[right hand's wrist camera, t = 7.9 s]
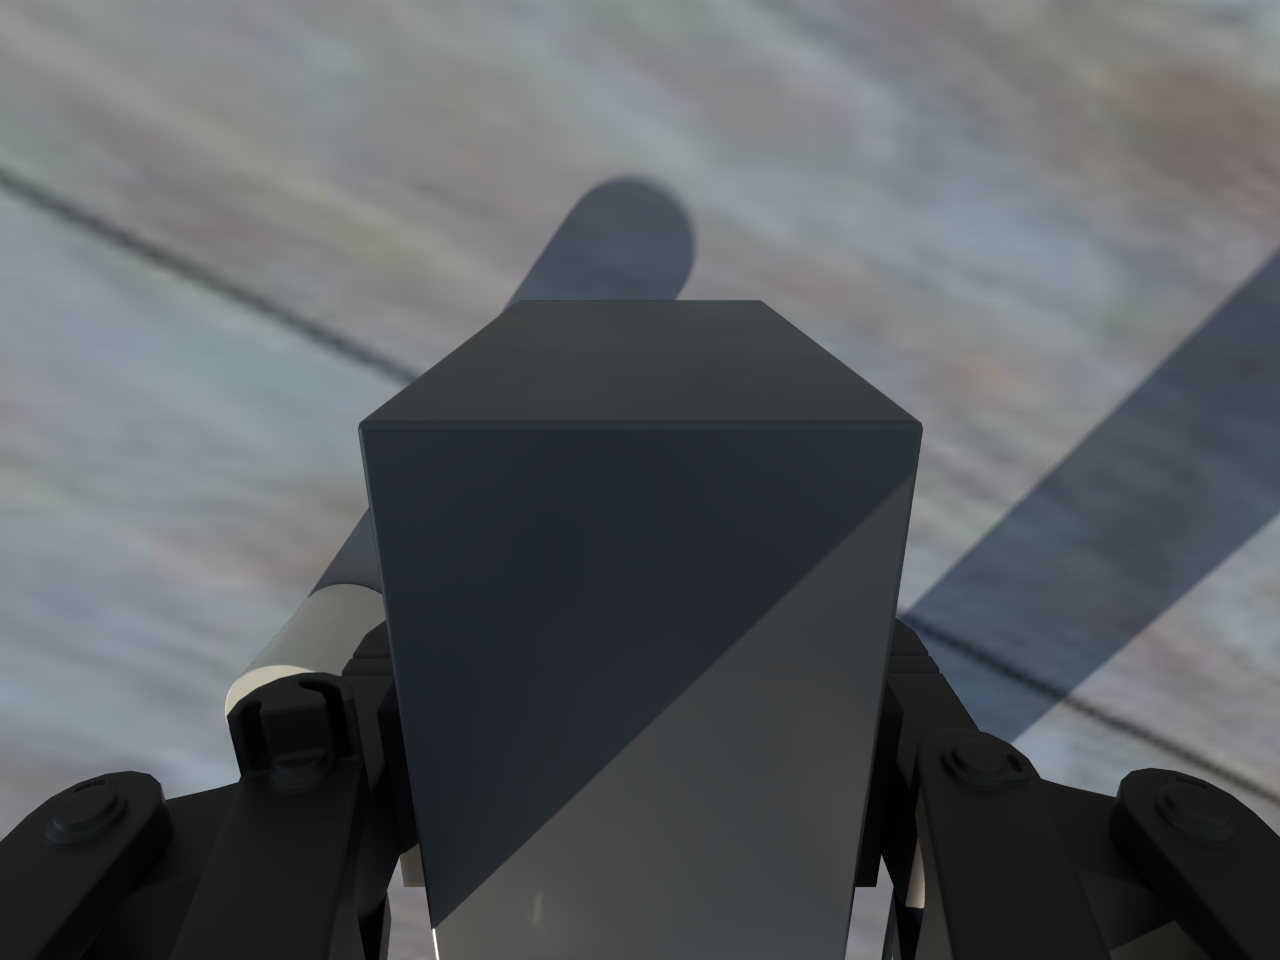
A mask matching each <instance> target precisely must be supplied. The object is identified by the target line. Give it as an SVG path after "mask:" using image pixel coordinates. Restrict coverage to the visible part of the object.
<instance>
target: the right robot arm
mask: <svg viewBox="0 0 1280 960" xmlns="http://www.w3.org/2000/svg"><path fill="white" fill-rule="evenodd" d="M226 717H227V721H228V725H229V729H230V733H231V737H232V741H233V745H234V749H235V753H236V757H237V761H238V765H239V769H240V773H241V777H240V780H239V782H237V783H234V784H230V785H227V786H224V787H220V788H216V789H212V790H208V791H203V792H199V793H195V794H190V795H186V796H182V797H177V798H173V799H168V800H165V797H164V794H163V791H162V787H161V784H160V783H159V782H158V781H157V780H156V779H155V778H154V777H152V776H151V775H150V774H146V773H140V772H135V771H125V772H117V773H109V774H104V775H101V776H98V777H95V778H92V779H89V780H86V781H83V782H80V783H77V784H75V785H74V786H72V787H70V788H68V789H66V790H64V791H62V792H60V793H58V794H57V795H55V796H53V797H51V798H49V799H48V800H47V801H46V802H44V803H43V804H42V805H41V806H39V807H38V808H37V809H35V810H34V811H33V812H32V813H30V814H29V815H28V816H27V817H26V818H25V819H24V820H22V821H21V822H20V823H19V824H18V825H17V826H16V827H15V828H14V829H13V830H12V831H11V832H10V833H9V834H8V835H7V836H6V837H5V838H4V839H3V840H2V841H1V842H0V960H387V956H388V946H389V936H390V926H391V912H390V905H389V899H388V893H387V888H388V886H389V883H390V880H391V877H392V875H393V872H394V869H395V867H396V864H397V861H398V859H399V856H400V862H401V869H402V875H403V881H404V887H425V881H424V875H423V868H422V861H421V854H420V847H419V841H418V834H417V827H416V820H415V813H414V807H413V800H412V793H411V786H410V779H409V773H408V766H407V759H406V752H405V745H404V739H403V732H402V725H401V718H400V711H399V705H398V698H397V691H396V684H395V677H394V671H393V664H392V657H391V650H390V643H389V637H388V630H387V623H386V620H385V621H383V622H382V623H380V624H379V625H378V626H376V627H375V628H374V629H372V630H371V631H370V632H368V633H367V634H366V635H365V636H364V638H363V639H362V641H361V643H360V644H359V646H358V647H357V649H356V650H355V652H354V653H353V658H352V659H349V661H348V663H347V664H346V666H345V667H344V669H343V670H342V674H341V676H337V675H334V674H330V673H326V672H305V673H299V674H295V675H290V676H286V677H281V678H278V679H276V680H274V681H271V682H269V683H267V684H264V685H262V686H260V687H257V688H256V689H254V690H253V691H252V692H250V693H249V694H247V695H246V696H244V697H243V698H242V699H240V700H239V701H238V702H237V703H236V704H235V706H234V707H233V708H232V709H231V711H230V712H229V713H228V715H227V716H226ZM881 854H882V857H883V859H884V862H885V865H886V867H887V870H888V873H889V875H890V878H891V881H892V883H893V886H894V887H893V893H892V899H891V904H890V910H889V916H888V922H887V928H886V934H885V940H884V946H883V953H882V960H891V959H892V954H893V960H1280V837H1279V836H1278V835H1277V834H1276V833H1275V832H1274V831H1273V830H1272V829H1271V828H1270V827H1269V826H1268V825H1267V824H1266V823H1265V822H1264V821H1263V820H1262V819H1261V818H1260V817H1259V816H1257V815H1256V814H1255V813H1254V812H1253V811H1252V810H1250V809H1249V808H1248V807H1247V806H1245V805H1244V804H1243V803H1241V802H1240V801H1239V800H1238V799H1236V798H1235V797H1234V796H1232V795H1231V794H1229V793H1227V792H1225V791H1223V790H1221V789H1220V788H1218V787H1216V786H1214V785H1212V784H1210V783H1208V782H1206V781H1204V780H1202V779H1199V778H1196V777H1193V776H1190V775H1187V774H1183V773H1180V772H1177V771H1172V770H1164V769H1156V768H1147V769H1142V770H1136V771H1131V772H1130V773H1129V774H1128V775H1127V776H1126V777H1125V778H1124V779H1122V780H1121V783H1120V786H1119V789H1118V793H1117V796H1116V797H1112V796H1108V795H1103V794H1099V793H1095V792H1090V791H1086V790H1081V789H1077V788H1073V787H1068V786H1064V785H1060V784H1057V783H1054V782H1050V781H1047V780H1044V779H1041V778H1040V776H1039V774H1038V773H1037V771H1036V770H1035V768H1034V767H1033V765H1032V764H1031V762H1030V760H1029V759H1028V758H1027V757H1026V756H1024V755H1023V754H1022V753H1021V752H1019V751H1018V750H1017V749H1016V748H1015V747H1013V746H1012V745H1011V744H1009V743H1007V742H1005V741H1003V740H1001V739H999V738H997V737H995V736H993V735H991V734H989V733H985V732H981V731H979V729H978V728H977V726H976V725H975V723H974V722H973V720H972V718H971V717H970V715H969V714H968V712H967V711H966V709H965V708H964V706H963V705H962V703H961V702H960V700H959V699H958V697H957V696H956V694H955V692H954V691H953V689H952V688H951V686H950V685H949V683H948V682H947V680H946V679H945V677H944V676H943V674H940V672H939V668H938V666H937V665H936V663H935V662H934V660H933V659H932V657H931V656H928V651H927V650H926V648H925V647H924V645H923V643H922V642H921V640H920V639H919V637H918V636H917V634H916V633H915V632H914V631H913V630H912V629H910V628H909V627H908V626H906V625H905V624H903V623H902V622H901V621H899V620H898V619H897V618H895V622H894V629H893V636H892V642H891V649H890V656H889V663H888V669H887V676H886V683H885V690H884V697H883V703H882V710H881V717H880V724H879V730H878V737H877V744H876V751H875V758H874V764H873V771H872V778H871V785H870V791H869V798H868V805H867V812H866V819H865V825H864V832H863V839H862V846H861V852H860V859H859V866H858V873H857V879H856V886H855V887H876V884H877V878H878V872H879V865H880V859H881Z"/></svg>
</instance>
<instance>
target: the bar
mask: <svg viewBox="0 0 1280 960" xmlns="http://www.w3.org/2000/svg"><path fill="white" fill-rule="evenodd" d="M922 432H923V427H922V424H921V422H920V421H918V420H917V419H916V418H914V417H913V416H912V415H910V414H909V413H908V412H906V411H905V410H904V409H903V408H901V407H900V406H899V405H897V404H896V403H895V402H893V401H892V400H891V399H889V398H888V397H887V396H885V395H884V394H883V393H882V392H880V391H879V390H878V389H876V388H875V387H874V386H872V385H871V384H870V383H868V382H867V381H866V380H865V379H863V378H862V377H861V376H859V375H858V374H857V373H855V372H854V371H853V370H851V369H850V368H849V367H847V366H846V365H845V364H844V363H842V362H841V361H840V360H838V359H837V358H836V357H834V356H833V355H832V354H830V353H829V352H828V351H827V350H825V349H824V348H823V347H821V346H820V345H819V344H817V343H816V342H815V341H813V340H812V339H811V338H809V337H808V336H807V335H806V334H804V333H803V332H802V331H800V330H799V329H798V328H796V327H795V326H794V325H792V324H791V323H790V322H788V321H787V320H786V319H785V318H783V317H782V316H781V315H779V314H778V313H777V312H775V311H774V310H773V309H771V308H770V307H769V306H768V305H766V304H765V303H764V302H762V301H760V300H521V301H518V302H517V303H516V304H514V305H513V306H512V307H510V308H509V309H508V310H506V311H505V312H504V313H502V314H501V315H500V316H499V317H497V318H496V319H495V320H493V321H492V322H491V323H489V324H488V325H487V326H485V327H484V328H483V329H482V330H480V331H479V332H478V333H476V334H475V335H474V336H472V337H471V338H470V339H469V340H467V341H466V342H465V343H463V344H462V345H461V346H459V347H458V348H457V349H455V350H454V351H453V352H452V353H450V354H449V355H448V356H446V357H445V358H444V359H442V360H441V361H440V362H438V363H437V364H436V365H435V366H433V367H432V368H431V369H429V370H428V371H427V372H425V373H424V374H423V375H421V376H420V377H419V378H418V379H416V380H415V381H414V382H412V383H411V384H410V385H408V386H407V387H406V388H404V389H403V390H402V391H401V392H399V393H398V394H397V395H395V396H394V397H393V398H391V399H390V400H389V401H387V402H386V403H385V404H384V405H382V406H381V407H380V408H378V409H377V410H376V411H374V412H373V413H372V414H371V415H369V416H368V417H367V418H365V419H364V420H363V421H361V422H360V424H359V427H358V433H359V440H360V446H361V453H362V460H363V467H364V474H365V480H366V487H367V494H368V501H369V508H370V514H371V521H372V528H373V535H374V542H375V548H376V555H377V562H378V569H379V575H380V582H381V589H382V596H383V603H384V609H385V616H386V623H387V630H388V637H389V643H390V650H391V657H392V664H393V671H394V677H395V684H396V691H397V698H398V705H399V711H400V718H401V725H402V732H403V739H404V745H405V752H406V759H407V766H408V773H409V779H410V786H411V793H412V800H413V807H414V813H415V820H416V827H417V834H418V841H419V847H420V854H421V861H422V868H423V875H424V881H425V888H426V895H427V902H428V909H429V915H430V922H431V929H432V936H433V943H434V949H435V956H436V960H845V954H846V947H847V940H848V934H849V927H850V920H851V913H852V907H853V900H854V893H855V886H856V879H857V873H858V866H859V859H860V852H861V846H862V839H863V832H864V825H865V819H866V812H867V805H868V798H869V791H870V785H871V778H872V771H873V764H874V758H875V751H876V744H877V737H878V730H879V724H880V717H881V710H882V703H883V697H884V690H885V683H886V676H887V669H888V663H889V656H890V649H891V642H892V636H893V629H894V622H895V615H896V608H897V602H898V595H899V588H900V581H901V575H902V568H903V561H904V554H905V548H906V541H907V534H908V527H909V520H910V514H911V507H912V500H913V493H914V487H915V480H916V473H917V466H918V459H919V453H920V446H921V439H922Z"/></svg>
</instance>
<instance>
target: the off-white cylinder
mask: <svg viewBox="0 0 1280 960" xmlns="http://www.w3.org/2000/svg"><path fill="white" fill-rule="evenodd" d="M385 620H386V616H385V609H384V603H383V596H382V594H380V593H378V592H377V591H375V590H372V589H370V588H367V587H364V586H361V585H355V584H336V585H330V586H327V587H324V588H322V589H320V590H318V591H316V592H314V593H313V594H312V595H310V596H309V597H308V598H307V599H306V600H305V601H304V603H303V604H302V605H301V606H300V607H299V608H298V610H297V611H296V612H295V613H294V614H293V615H292V616H291V618H290V619H289V620H288V621H287V622H286V623H285V625H284V626H283V627H282V628H281V629H280V630H279V631H278V633H277V634H276V635H275V636H274V637H273V638H272V639H271V641H270V642H269V643H268V644H267V645H266V646H265V648H264V649H263V650H262V651H261V652H260V653H259V654H258V656H257V657H256V658H255V659H254V660H253V661H252V663H251V664H250V665H249V666H248V667H247V668H246V669H245V671H244V672H243V673H242V674H241V675H240V676H239V677H238V679H237V680H236V681H235V682H234V684H233V685H232V686H231V688H230V690H229V692H228V695H227V698H226V704H225V715H226V716H227V715H228V713H229V712H230V711H231V709H232V708H233V707H234V706H235V704H236V703H237V702H238V701H239V700H240V699H242V698H243V697H244V696H246V695H247V694H249V693H250V692H252V691H253V690H254V689H256V688H257V687H260V686H262V685H264V684H267V683H269V682H271V681H274V680H276V679H278V678H281V677H286V676H290V675H295V674H299V673H305V672H326V673H330V674H334V675H337V676H341V674H342V670H343V669H344V667H345V666H346V664H347V663H348V661H349V659H352V658H353V653H354V652H355V650H356V649H357V647H358V646H359V644H360V643H361V641H362V639H363V638H364V636H365V635H366V634H367V633H368V632H370V631H371V630H372V629H374V628H375V627H376V626H378V625H379V624H380V623H382V622H383V621H385ZM226 721H227V717H226ZM227 724H228V721H227ZM228 727H229V725H228Z"/></svg>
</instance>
